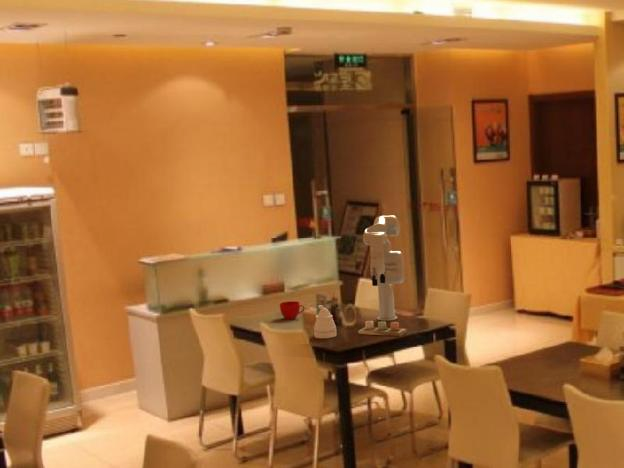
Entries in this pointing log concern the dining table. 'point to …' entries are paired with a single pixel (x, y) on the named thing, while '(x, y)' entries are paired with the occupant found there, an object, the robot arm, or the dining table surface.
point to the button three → (394, 326)
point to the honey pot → (324, 324)
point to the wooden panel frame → (382, 331)
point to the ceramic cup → (290, 309)
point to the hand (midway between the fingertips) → (378, 284)
